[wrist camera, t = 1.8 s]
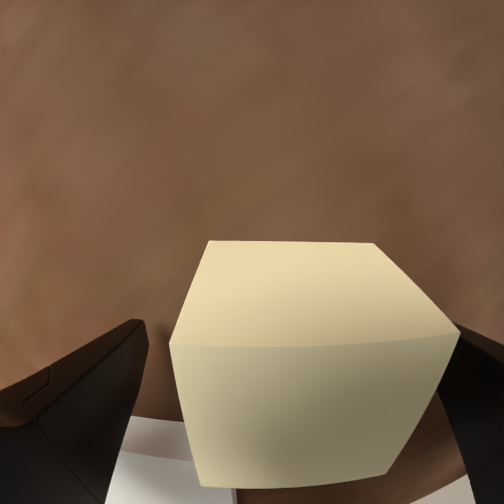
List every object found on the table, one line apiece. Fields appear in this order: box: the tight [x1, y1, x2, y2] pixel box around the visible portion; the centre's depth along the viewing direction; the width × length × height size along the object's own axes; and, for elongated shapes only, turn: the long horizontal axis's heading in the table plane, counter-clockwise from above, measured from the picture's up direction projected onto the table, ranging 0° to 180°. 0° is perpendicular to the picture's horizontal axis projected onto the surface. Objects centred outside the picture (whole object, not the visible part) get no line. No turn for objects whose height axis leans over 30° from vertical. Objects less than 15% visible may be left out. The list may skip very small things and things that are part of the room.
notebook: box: [105, 416, 237, 504], centre depth 14 cm, size 10×14×2 cm
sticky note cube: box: [169, 241, 461, 489], centre depth 8 cm, size 5×5×5 cm
